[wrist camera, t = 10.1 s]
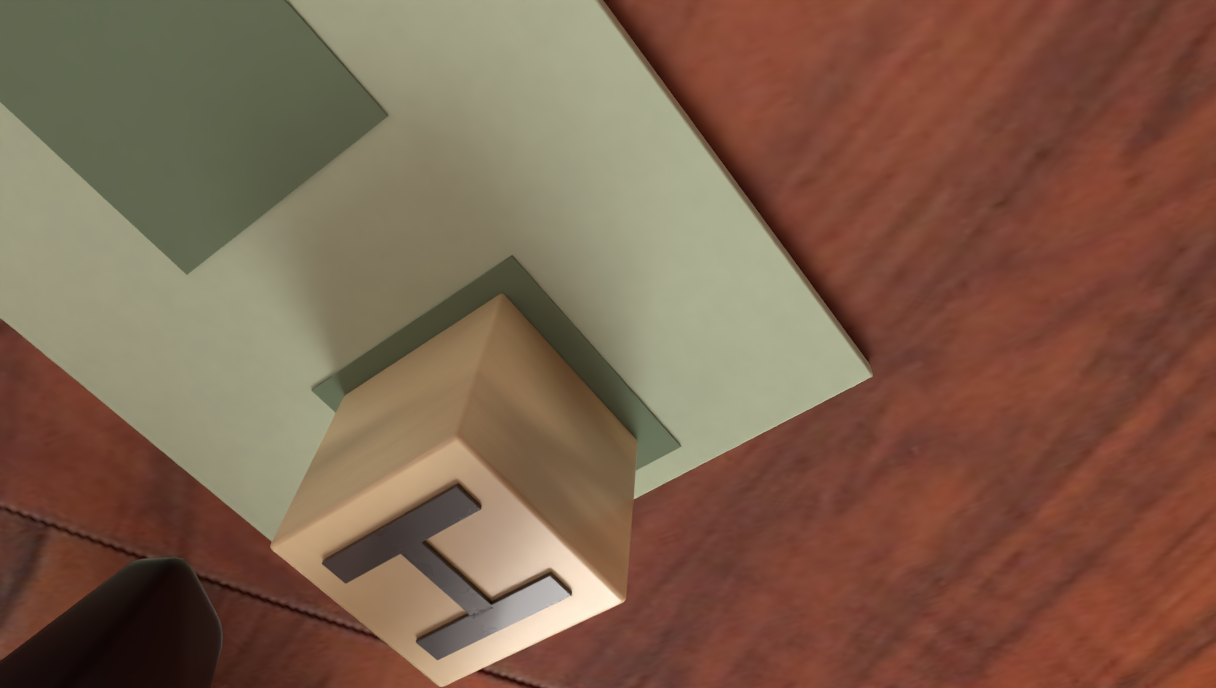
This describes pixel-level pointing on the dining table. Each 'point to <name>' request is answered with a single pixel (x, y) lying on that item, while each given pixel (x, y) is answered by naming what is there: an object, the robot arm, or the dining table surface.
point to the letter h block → (468, 499)
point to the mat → (380, 223)
